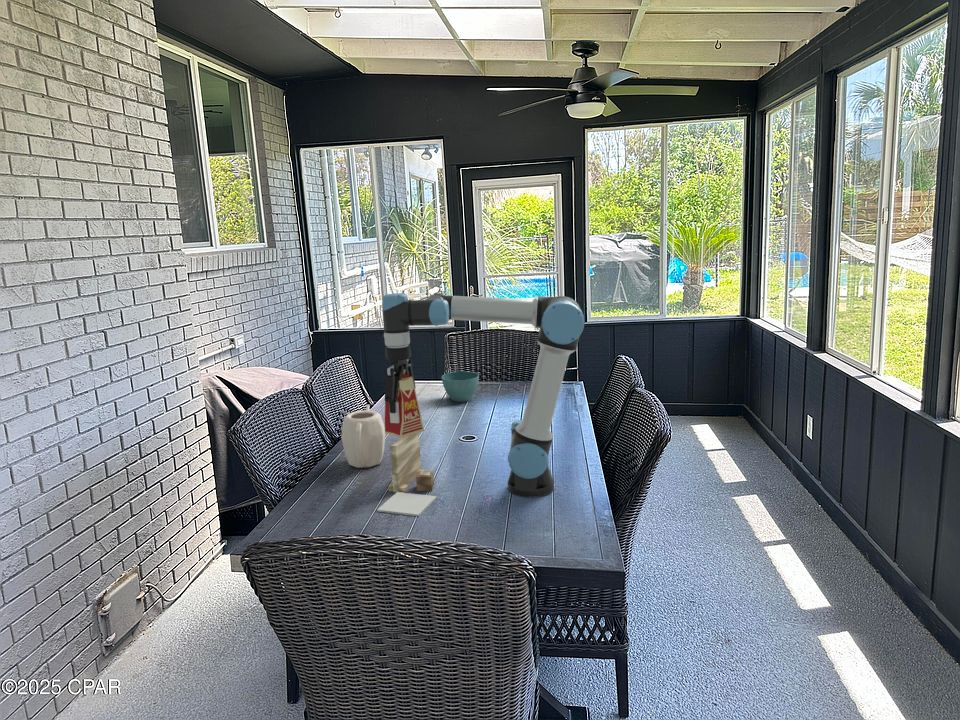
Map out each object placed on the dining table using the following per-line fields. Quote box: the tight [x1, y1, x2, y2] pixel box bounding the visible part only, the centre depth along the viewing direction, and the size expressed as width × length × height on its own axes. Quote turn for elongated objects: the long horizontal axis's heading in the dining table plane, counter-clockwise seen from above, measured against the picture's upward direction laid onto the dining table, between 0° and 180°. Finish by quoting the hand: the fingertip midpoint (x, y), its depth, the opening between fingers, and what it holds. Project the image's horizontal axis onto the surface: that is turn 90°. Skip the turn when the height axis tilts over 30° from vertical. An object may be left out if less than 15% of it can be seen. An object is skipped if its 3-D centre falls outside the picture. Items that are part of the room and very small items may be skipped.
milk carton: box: [384, 369, 425, 439], centre depth 203 cm, size 9×9×20 cm
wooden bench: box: [387, 433, 427, 493], centre depth 227 cm, size 6×18×16 cm, turn 161°
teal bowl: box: [441, 371, 480, 403], centre depth 330 cm, size 18×18×12 cm
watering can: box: [340, 404, 386, 469], centre depth 247 cm, size 16×27×19 cm, turn 1°
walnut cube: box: [415, 470, 435, 492], centre depth 223 cm, size 5×5×5 cm
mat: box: [376, 492, 438, 517], centre depth 210 cm, size 14×14×1 cm
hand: (402, 418), depth 204 cm, fingers closed on milk carton, 9 cm apart
